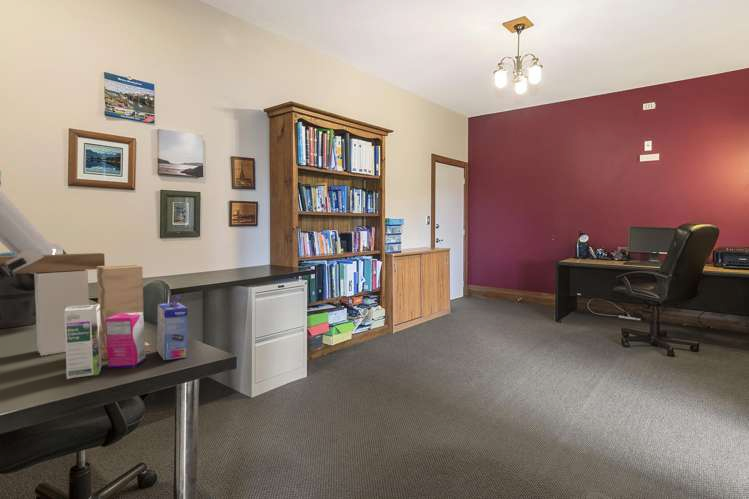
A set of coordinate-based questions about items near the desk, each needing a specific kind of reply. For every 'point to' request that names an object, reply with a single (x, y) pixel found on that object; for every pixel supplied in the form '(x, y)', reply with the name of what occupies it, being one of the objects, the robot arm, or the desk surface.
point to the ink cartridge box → (172, 330)
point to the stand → (119, 295)
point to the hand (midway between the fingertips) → (38, 252)
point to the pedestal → (57, 305)
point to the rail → (60, 263)
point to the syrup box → (82, 341)
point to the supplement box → (125, 340)
